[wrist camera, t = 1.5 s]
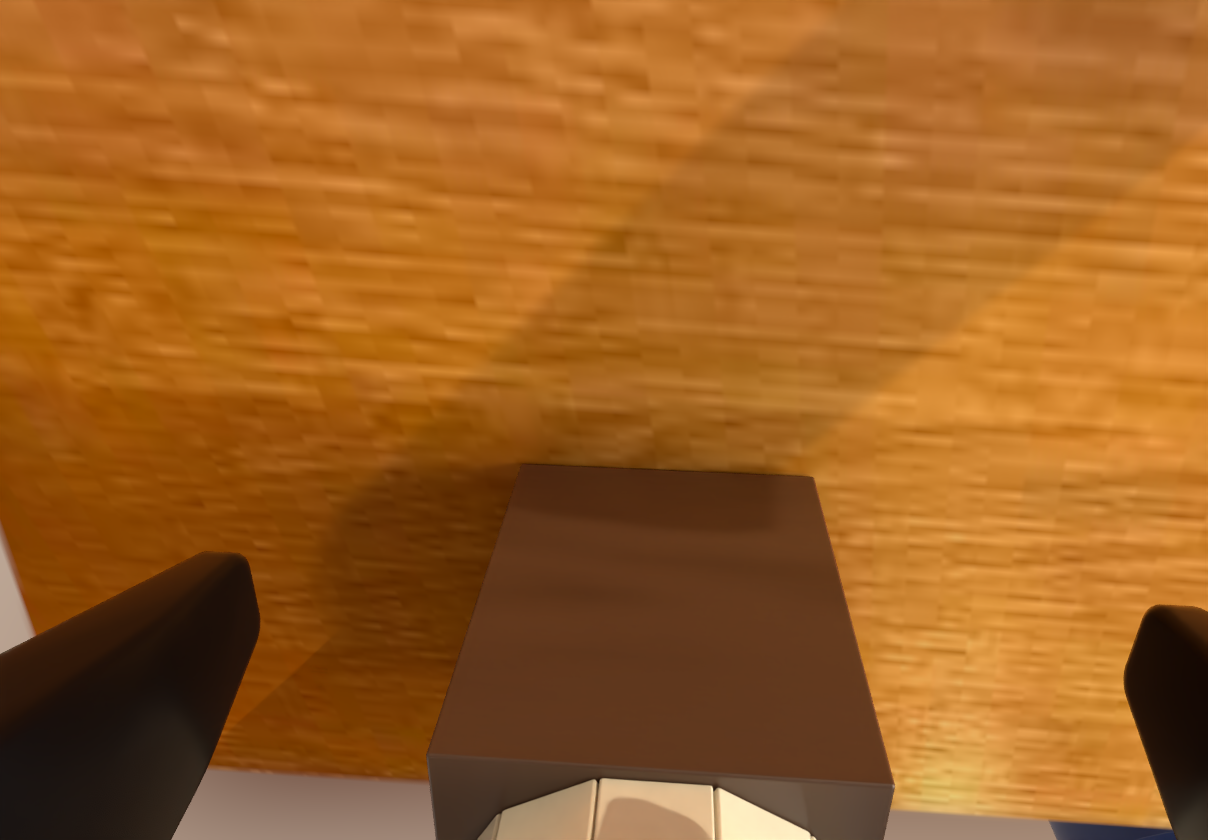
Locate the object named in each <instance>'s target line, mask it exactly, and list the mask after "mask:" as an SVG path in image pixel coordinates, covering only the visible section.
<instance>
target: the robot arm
mask: <svg viewBox="0 0 1208 840" xmlns="http://www.w3.org/2000/svg"><path fill="white" fill-rule="evenodd" d="M259 631H260V613H259V608H258V604H257V599H256V594H255V589H254V584H253V579H252V575H251V570H250V566H249V563H248V561H247V559H246V557H244V556H243V555H241V554H240V553H232V552H215V551H206V552H201V553H199V554H197V555H195V556H193V557H191V558H189V559H187V560H185V561H183V562H181V563H179V564H177V565H175V566H173V567H171V568H169V569H167V570H165V571H163V572H161V573H159V574H157V575H155V576H153V577H151V578H150V579H148V580H146V581H144V582H142V583H140V584H138V585H136V586H134V587H132V588H130V589H128V590H126V591H124V592H122V593H120V594H118V595H116V596H114V597H112V598H110V599H108V600H106V601H104V602H102V603H100V604H98V605H96V606H94V607H92V608H90V609H88V610H86V611H84V612H82V613H80V614H78V615H76V616H74V617H72V618H71V619H69V620H67V621H65V622H63V623H61V624H59V625H57V626H55V627H53V628H51V629H49V630H47V631H45V632H43V633H41V634H39V635H37V636H35V637H33V638H31V639H29V640H27V641H25V642H23V643H21V644H20V645H17V646H15V647H13V648H12V649H9V650H7V651H5V652H3V653H1V654H0V840H171V839H172V837H173V835H174V833H175V831H176V829H177V827H178V825H179V823H180V821H181V819H182V817H183V816H184V814H185V812H186V810H187V808H188V806H189V804H190V802H191V800H192V798H193V796H194V794H195V792H196V790H197V788H198V786H199V784H200V782H201V780H202V778H203V776H204V774H205V772H206V770H207V767H208V765H209V762H210V760H211V758H212V755H213V753H214V751H215V748H216V746H217V743H218V740H219V738H220V735H221V733H222V730H223V728H224V725H225V722H226V720H227V717H228V715H229V712H230V709H231V707H232V704H233V702H234V699H235V697H236V694H237V691H238V689H239V686H240V684H241V681H242V679H243V676H244V673H245V671H246V668H247V666H248V663H249V660H250V658H251V655H252V653H253V650H254V648H255V645H256V642H257V639H258V636H259ZM1124 689H1125V694H1126V697H1127V700H1128V703H1129V706H1130V709H1131V712H1132V715H1133V718H1134V720H1135V723H1136V726H1137V729H1138V732H1139V735H1140V738H1141V741H1142V744H1143V746H1144V749H1145V752H1146V755H1147V758H1148V761H1149V764H1150V767H1151V769H1152V772H1153V775H1154V778H1155V781H1156V784H1157V787H1158V790H1159V792H1160V795H1161V798H1162V801H1163V804H1164V807H1165V810H1166V813H1167V815H1168V818H1169V821H1170V823H1171V826H1172V829H1173V831H1174V834H1175V836H1176V839H1177V840H1208V612H1207V611H1205V610H1203V609H1201V608H1198V607H1193V606H1177V605H1155V606H1153V607H1151V608H1149V609H1148V610H1147V611H1146V613H1145V614H1144V616H1143V618H1142V621H1141V624H1140V627H1139V630H1138V632H1137V635H1136V638H1135V641H1134V644H1133V647H1132V649H1131V652H1130V655H1129V658H1128V661H1127V663H1126V666H1125V671H1124Z"/></svg>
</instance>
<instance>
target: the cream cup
mask: <svg viewBox="0 0 1208 840" xmlns="http://www.w3.org/2000/svg"><path fill="white" fill-rule="evenodd" d="M477 840H816V838H815V837H814V836H810V833H809V832H808V831H806V830H804V829H802V828H800V827H798V826H796V825H794V824H792V823H790V822H788V821H786V820H784V819H782V818H780V817H778V816H776V815H774V814H772V813H770V812H768V811H766V810H764V809H762V808H760V807H758V806H756V805H753V804H751V803H749V802H747V801H745V800H743V799H741V798H739V797H737V796H735V795H733V794H731V793H729V792H727V791H725V790H723V789H721V788H716V789H715V790H714V791H713V788H712V786H710V785H697V784H683V783H668V782H653V781H638V780H624V779H609V778H601V779H600V781H599V783H598V782H597V781H596V780H595V779H592V780H589V781H586V782H584V783H581V784H578V785H575V786H572V787H569V788H566V789H563V790H560V791H557V792H554V793H552V794H549V795H546V796H543V797H540V798H537V799H534V800H531V801H528V802H525V803H522V804H520V805H517V806H514V807H511V808H508V809H505V810H503V811H502V814H497V815H496V817H495V818H494V819H493V820H492V822H491V823H490V824H489V825H488V827H487V828H486V829H485V830H484V832H483V833H482V834H481V835H480V837H479V838H478V839H477Z"/></svg>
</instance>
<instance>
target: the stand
mask: <svg viewBox="0 0 1208 840" xmlns="http://www.w3.org/2000/svg"><path fill="white" fill-rule="evenodd" d="M426 756H427V765H428V774H429V782H430V791H431V799H432V808H433V817H434V825H435V835H436V840H477V839H478V838H479V837H480V835H481V834H482V833H483V832H484V830H485V829H486V828H487V827H488V825H489V824H490V823H491V822H492V820H493V819H494V818H495V817H496V815H497V814H502V811H503V810H505V809H508V808H511V807H514V806H517V805H520V804H522V803H525V802H528V801H531V800H534V799H537V798H540V797H543V796H546V795H549V794H552V793H554V792H557V791H560V790H563V789H566V788H569V787H572V786H575V785H578V784H581V783H584V782H586V781H589V780H592V779H595V780H596V781H597V782H598V783H599V781H600V779H601V778H609V779H624V780H638V781H653V782H668V783H683V784H697V785H710V786H712V788H713V791H714V790H715V789H716V788H721V789H723V790H725V791H727V792H729V793H731V794H733V795H735V796H737V797H739V798H741V799H743V800H745V801H747V802H749V803H751V804H753V805H756V806H758V807H760V808H762V809H764V810H766V811H768V812H770V813H772V814H774V815H776V816H778V817H780V818H782V819H784V820H786V821H788V822H790V823H792V824H794V825H796V826H798V827H800V828H802V829H804V830H806V831H808V832H809V833H810V836H814V837H815V838H816V840H883V839H884V835H885V830H886V825H887V821H888V816H889V812H890V807H891V803H892V798H893V793H894V789H895V784H894V780H893V777H892V773H891V769H890V765H889V761H888V758H887V754H886V750H885V746H884V742H883V739H882V735H881V731H880V727H879V723H878V720H877V716H876V712H875V708H874V705H873V701H872V697H871V693H870V689H869V686H868V682H867V678H866V674H865V670H864V667H863V663H862V659H861V655H860V651H859V648H858V644H857V640H856V636H855V632H854V629H853V625H852V621H851V617H850V613H849V610H848V606H847V602H846V598H845V594H844V591H843V587H842V583H841V579H840V575H839V572H838V568H837V564H836V560H835V556H834V553H833V549H832V545H831V541H830V537H829V534H828V530H827V526H826V522H825V519H824V515H823V511H822V507H821V503H820V500H819V496H818V492H817V488H816V484H815V481H814V478H813V477H803V476H780V475H758V474H736V473H713V472H691V471H668V470H646V469H623V468H601V467H578V466H556V465H533V464H522V465H521V466H520V469H519V472H518V476H517V479H516V482H515V485H514V488H513V491H512V494H511V497H510V500H509V503H508V506H507V509H506V512H505V515H504V518H503V522H502V525H501V528H500V531H499V534H498V537H497V540H496V543H495V546H494V549H493V552H492V555H491V558H490V561H489V564H488V567H487V571H486V574H485V577H484V580H483V583H482V586H481V589H480V592H479V595H478V598H477V601H476V604H475V607H474V610H473V613H472V616H471V620H470V623H469V626H468V629H467V632H466V635H465V638H464V641H463V644H462V647H461V650H460V653H459V656H458V659H457V662H456V666H455V669H454V672H453V675H452V678H451V681H450V684H449V687H448V690H447V693H446V696H445V699H444V702H443V705H442V708H441V711H440V715H439V718H438V721H437V724H436V727H435V730H434V733H433V736H432V739H431V742H430V745H429V748H428V751H427V754H426Z"/></svg>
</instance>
